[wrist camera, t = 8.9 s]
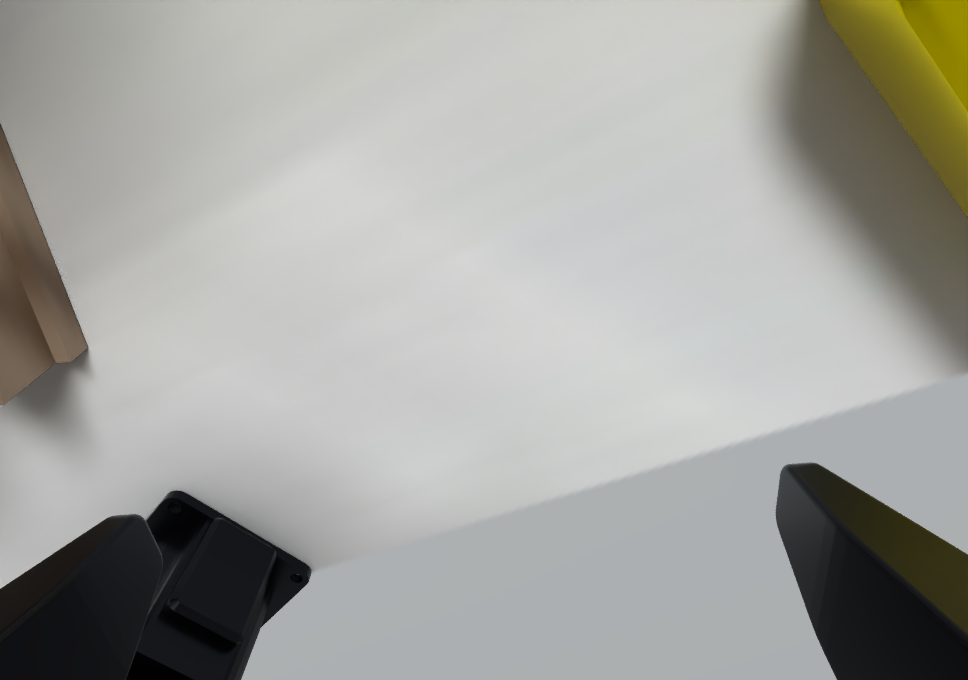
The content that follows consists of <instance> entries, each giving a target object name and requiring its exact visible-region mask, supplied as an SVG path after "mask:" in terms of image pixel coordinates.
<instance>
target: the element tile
mask: <svg viewBox="0 0 968 680" xmlns="http://www.w3.org/2000/svg"><path fill="white" fill-rule="evenodd" d="M819 1H820V4H821V7H822V10H823V12H824V15H825V17H826V19H827V20H828V22H829V23H830V24H831V26H832V27H833V29H834V30H835V31H836V33H837V34H838V36H839V37H840V38H841V40H842V41H843V43H844V44H845V45H846V47H847V48H848V50H849V51H850V53H851V54H852V55H853V57H854V58H855V60H856V61H857V62H858V64H859V65H860V67H861V68H862V69H863V71H864V72H865V74H866V75H867V76H868V78H869V79H870V81H871V82H872V84H873V85H874V86H875V88H876V89H877V91H878V92H879V93H880V95H881V96H882V98H883V99H884V100H885V102H886V103H887V105H888V106H889V108H890V109H891V110H892V112H893V113H894V115H895V116H896V117H897V119H898V120H899V122H900V123H901V124H902V126H903V127H904V129H905V130H906V131H907V133H908V134H909V136H910V137H911V139H912V140H913V141H914V143H915V144H916V146H917V147H918V148H919V150H920V151H921V153H922V154H923V155H924V157H925V158H926V160H927V161H928V162H929V164H930V165H931V167H932V168H933V170H934V171H935V172H936V174H937V175H938V177H939V178H940V179H941V181H942V182H943V184H944V185H945V186H946V188H947V189H948V191H949V192H950V194H951V195H952V196H953V198H954V199H955V201H956V202H957V203H958V205H959V206H960V208H961V209H962V210H963V212H964V213H965V215H966V216H967V217H968V0H819Z"/></svg>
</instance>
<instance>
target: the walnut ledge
mask: <svg viewBox="0 0 968 680" xmlns="http://www.w3.org/2000/svg"><path fill="white" fill-rule="evenodd" d="M87 348H88V347H87V344H86V342H85V339H84V336H83V334H82V331H81V329H80V326H79V324H78V321H77V319H76V316H75V314H74V311H73V308H72V306H71V303H70V301H69V298H68V296H67V293H66V291H65V288H64V286H63V283H62V281H61V278H60V275H59V273H58V270H57V268H56V265H55V263H54V260H53V258H52V255H51V253H50V250H49V247H48V245H47V242H46V240H45V237H44V235H43V232H42V230H41V227H40V225H39V222H38V219H37V217H36V214H35V212H34V209H33V207H32V204H31V202H30V199H29V197H28V194H27V191H26V189H25V186H24V184H23V181H22V179H21V176H20V174H19V171H18V169H17V166H16V164H15V161H14V158H13V156H12V153H11V151H10V148H9V146H8V143H7V141H6V138H5V136H4V133H3V130H2V128H1V125H0V405H4V404H5V403H7V402H8V401H9V400H10V399H12V398H13V397H14V396H15V395H17V394H18V393H19V392H20V391H22V390H23V389H24V388H25V387H27V386H28V385H29V384H30V383H32V382H33V381H34V380H35V379H36V378H38V377H39V376H40V375H41V374H43V373H44V372H45V371H46V370H48V369H49V368H50V367H51V366H53V365H54V364H55V363H65V362H71V361H73V360H74V359H75V358H76V357H77V356H79V355H80V354H81V353H82V352H83V351H85V350H86V349H87Z"/></svg>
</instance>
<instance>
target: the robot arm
mask: <svg viewBox="0 0 968 680" xmlns="http://www.w3.org/2000/svg"><path fill="white" fill-rule="evenodd" d="M175 503H177V504H179V505H180V506H179V505H176V504H175ZM776 521H777V526H778V529H779V532H780V535H781V538H782V541H783V544H784V546H785V549H786V552H787V555H788V558H789V561H790V564H791V566H792V569H793V572H794V575H795V577H796V581H797V583H798V586H799V589H800V592H801V594H802V598H803V600H804V603H805V606H806V609H807V612H808V614H809V617H810V620H811V622H812V625H813V628H814V630H815V633H816V636H817V638H818V640H819V642H820V645H821V647H822V649H823V651H824V654H825V656H826V657H827V660H828V662H829V664H830V666H831V668H832V670H833V672H834V674H835V676H836V678H837V680H968V555H967V554H966V553H964V552H963V551H961V550H959V549H958V548H956V547H955V546H953V545H951V544H949V543H948V542H946V541H945V540H943V539H941V538H939V537H938V536H936V535H935V534H933V533H931V532H930V531H928V530H926V529H925V528H923V527H922V526H920V525H918V524H917V523H915V522H913V521H912V520H910V519H908V518H907V517H905V516H903V515H902V514H900V513H898V512H897V511H895V510H893V509H892V508H890V507H889V506H887V505H885V504H884V503H882V502H880V501H879V500H877V499H875V498H874V497H872V496H870V495H869V494H867V493H865V492H864V491H862V490H860V489H859V488H857V487H856V486H854V485H852V484H851V483H849V482H847V481H845V480H844V479H842V478H841V477H839V476H837V475H836V474H834V473H832V472H831V471H829V470H828V469H826V468H824V467H822V466H821V465H819V464H817V463H798V464H788V465H786V466H784V467H783V468H782V470H781V473H780V480H779V489H778V497H777V505H776ZM297 574H299V575H297ZM310 576H311V569H310V567H309V566H308V565H307V564H305V563H303V562H302V561H300V560H298V559H297V558H295V557H293V556H292V555H290V554H288V553H286V552H285V551H283V550H281V549H280V548H278V547H276V546H275V545H273V544H271V543H269V542H268V541H266V540H264V539H263V538H261V537H259V536H258V535H256V534H254V533H253V532H251V531H249V530H247V529H246V528H244V527H242V526H241V525H239V524H237V523H236V522H234V521H232V520H230V519H229V518H227V517H225V516H224V515H222V514H220V513H219V512H217V511H215V510H214V509H212V508H210V507H208V506H207V505H205V504H203V503H202V502H200V501H198V500H197V499H195V498H193V497H191V496H190V495H188V494H186V493H184V492H182V491H171V492H170V493H168V494H167V495H166V496H165V498H164V499H163V500H162V501H161V502H160V504H159V505H158V506H157V507H156V508H155V510H154V511H153V512H152V513H151V514H150V516H149V517H148V518H147V519H146V520H145V519H144V518H143V517H142V516H140V515H137V514H130V515H117V516H111V517H109V518H107V519H105V520H104V521H102V522H101V523H99V524H98V525H96V526H95V527H93V528H92V529H90V530H89V531H87V532H86V533H84V534H82V535H81V536H79V537H78V538H76V539H75V540H73V541H72V542H70V543H69V544H67V545H66V546H64V547H63V548H61V549H60V550H58V551H57V552H55V553H54V554H52V555H51V556H49V557H48V558H46V559H45V560H43V561H42V562H40V563H39V564H37V565H36V566H34V567H33V568H31V569H30V570H28V571H27V572H25V573H24V574H22V575H21V576H19V577H18V578H16V579H14V580H13V581H11V582H10V583H8V584H7V585H5V586H4V587H2V588H1V589H0V680H241V678H242V675H243V673H244V670H245V667H246V665H247V662H248V659H249V657H250V654H251V652H252V649H253V646H254V644H255V641H256V639H257V636H258V633H259V631H260V628H261V627H262V626H263V625H264V624H265V623H266V622H267V621H268V620H269V619H270V618H271V617H273V616H274V615H275V614H276V613H277V612H278V611H279V610H280V609H281V608H282V607H283V606H284V605H285V604H286V603H288V602H289V601H290V600H291V599H292V598H293V597H294V596H295V595H296V594H297V593H298V592H299V591H300V590H301V589H302V588H303V587H305V585H307V583H308V582H309V579H310Z"/></svg>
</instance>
